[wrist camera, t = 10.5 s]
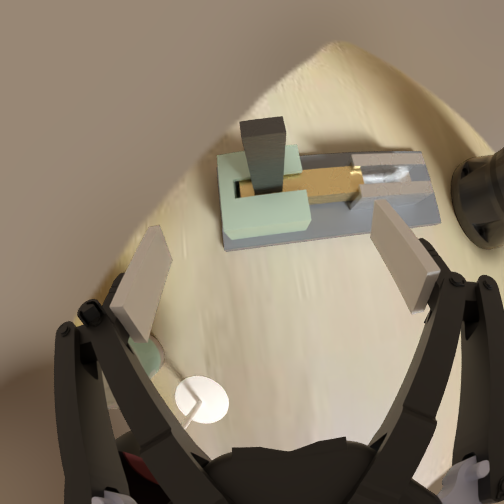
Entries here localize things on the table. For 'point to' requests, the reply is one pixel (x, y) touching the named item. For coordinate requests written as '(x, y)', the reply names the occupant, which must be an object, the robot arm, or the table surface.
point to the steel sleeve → (388, 179)
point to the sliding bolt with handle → (272, 167)
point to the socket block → (260, 200)
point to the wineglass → (194, 408)
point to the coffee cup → (149, 359)
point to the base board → (342, 210)
